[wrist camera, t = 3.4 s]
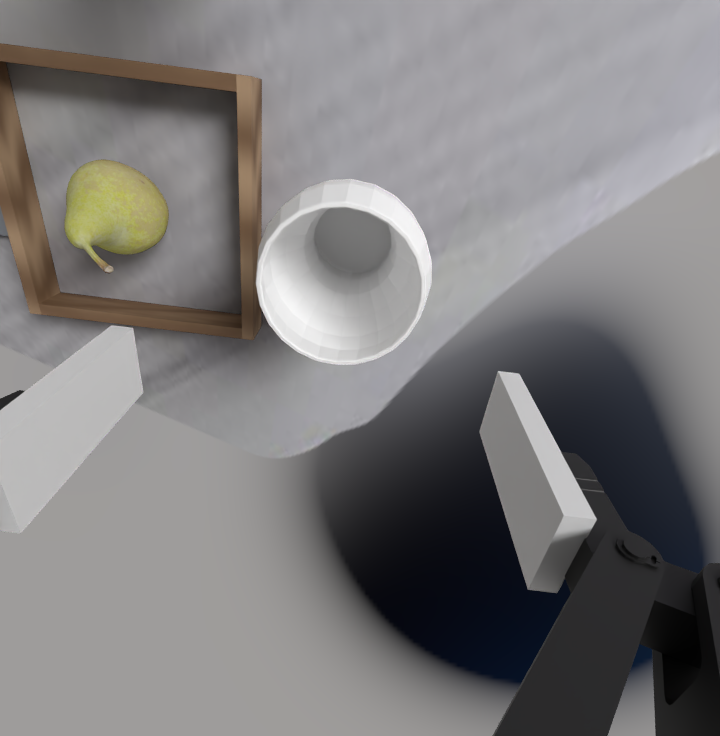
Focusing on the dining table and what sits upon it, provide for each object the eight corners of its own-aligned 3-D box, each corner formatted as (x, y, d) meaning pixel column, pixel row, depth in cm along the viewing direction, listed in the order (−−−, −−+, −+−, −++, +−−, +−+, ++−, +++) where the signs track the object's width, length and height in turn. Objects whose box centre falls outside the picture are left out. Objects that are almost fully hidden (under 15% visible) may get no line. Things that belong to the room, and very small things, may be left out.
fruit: (111, 139, 35) (-4, 149, 25) (199, 194, 37) (127, 225, 26) (89, 213, 38) (-23, 250, 27) (171, 261, 40) (96, 312, 29)
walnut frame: (-13, 43, 32) (-48, 37, 30) (261, 79, 32) (250, 76, 30) (52, 301, 42) (30, 313, 39) (261, 326, 42) (253, 340, 40)
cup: (309, 299, 41) (275, 384, 28) (278, 176, 36) (218, 210, 23) (424, 280, 39) (445, 360, 26) (409, 150, 34) (425, 170, 21)
